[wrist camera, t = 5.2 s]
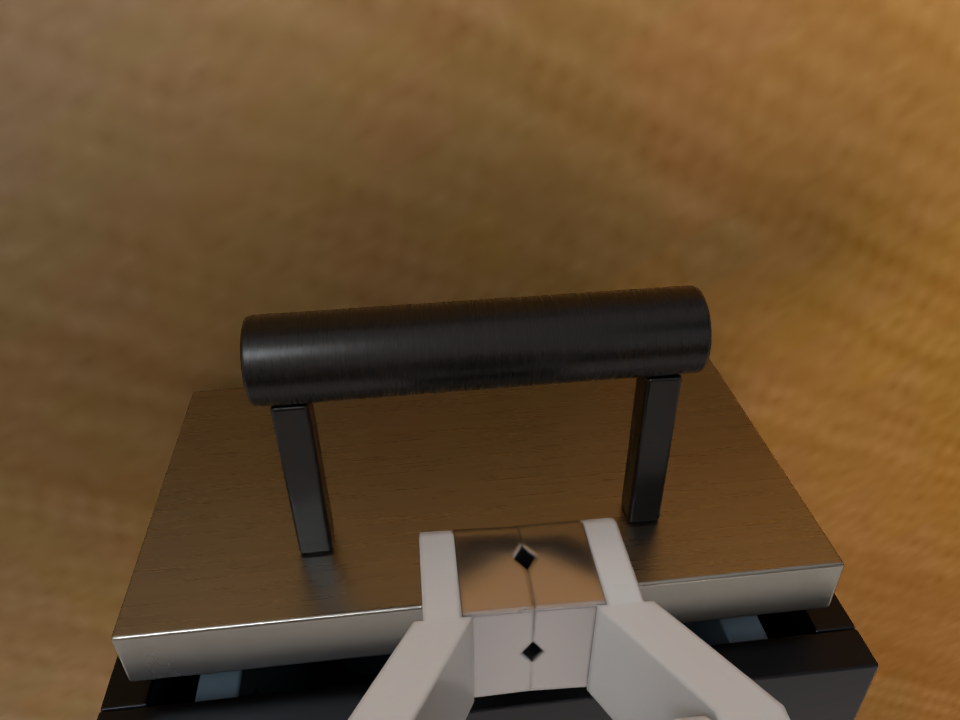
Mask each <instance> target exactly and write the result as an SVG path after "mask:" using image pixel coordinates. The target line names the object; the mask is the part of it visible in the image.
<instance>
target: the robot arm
mask: <svg viewBox="0 0 960 720" xmlns="http://www.w3.org/2000/svg"><path fill="white" fill-rule="evenodd" d="M419 548H420V568H421V588H422V608H423V621H414V622H413V623H412V624H411V626H410V627H409V629H408V630H407V632H406V633H405V635H404V636H403V638H402V639H401V641H400V642H399V644H398V645H397V647H396V648H395V650H394V651H393V653H392V654H391V656H390V657H389V659H388V660H387V662H386V663H385V665H384V666H383V668H382V669H381V671H380V672H379V674H378V675H377V677H376V678H375V680H374V681H373V683H372V684H371V686H370V687H369V689H368V690H367V692H366V693H365V695H364V696H363V698H362V699H361V701H360V702H359V704H358V705H357V707H356V708H355V710H354V711H353V713H352V714H351V716H350V717H349V719H348V720H466V718H467V716H468V714H469V711H470V709H471V707H472V705H473V703H474V698H475V697H483V696H491V695H499V694H507V693H515V692H523V691H532V690H547V689H562V688H576V687H587V691H588V692H589V693H590V694H591V695H592V696H593V697H594V699H595V700H596V701H597V702H598V703H599V704H600V706H601V707H602V708H603V709H604V710H605V711H606V713H607V714H608V715H609V716H610V717H611V718H612V719H613V720H790V718H789V716H788V714H787V711H786V709H785V707H784V706H783V705H782V704H781V703H780V702H779V701H777V700H776V699H775V698H774V697H772V696H771V695H770V694H769V693H767V692H766V691H765V690H764V689H762V688H761V687H760V686H759V685H758V684H756V683H755V682H754V681H753V680H751V679H750V678H749V677H748V676H746V675H745V674H744V673H743V672H742V671H740V670H739V669H738V668H737V667H735V666H734V665H733V664H732V663H730V662H729V661H728V660H727V659H725V658H724V657H723V656H722V655H721V654H719V653H718V652H717V651H716V650H714V649H713V648H712V647H711V646H709V645H708V644H707V643H706V642H704V641H703V640H702V639H701V638H700V637H698V636H697V635H696V634H695V633H693V632H692V631H691V630H690V629H688V628H687V627H686V626H685V625H684V624H682V623H681V622H680V621H679V620H677V619H676V618H675V617H674V616H672V615H671V614H670V613H669V612H667V611H666V610H665V609H664V608H663V607H661V606H660V605H659V604H658V603H656V602H655V601H644V598H643V595H642V593H641V590H640V587H639V584H638V581H637V579H636V576H635V573H634V570H633V567H632V564H631V562H630V559H629V556H628V553H627V550H626V548H625V545H624V542H623V539H622V536H621V534H620V531H619V528H618V525H617V522H616V521H615V520H614V519H613V518H612V517H611V518H600V519H588V520H580V521H578V520H575V521H564V522H552V523H541V524H530V525H518V526H512V527H493V528H474V529H454V530H453V531H452V530H448V531H428V532H420V536H419Z"/></svg>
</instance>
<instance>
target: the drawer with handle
mask: <svg viewBox="0 0 960 720" xmlns="http://www.w3.org/2000/svg"><path fill="white" fill-rule="evenodd" d="M711 336H712V335H711V321H710V315H709V310H708V306H707V303H706V300H705V298H704V296H703V294H702V293H701V291H700V290H699V289H698V288H696V287H694V286H690V285H689V286H674V287H660V288H645V289H630V290H615V291H600V292H585V293H571V294H556V295H541V296H526V297H511V298H496V299H482V300H467V301H452V302H437V303H422V304H408V305H393V306H378V307H363V308H348V309H333V310H319V311H304V312H289V313H274V314H259V315H249V316H247V317H246V318H245V319H244V321H243V324H242V329H241V336H240V361H241V371H242V378H243V383H244V388H240V389H227V390H213V391H200V392H194V393H193V395H192V398H191V401H190V404H189V407H188V410H187V413H186V416H185V419H184V422H183V425H182V428H181V431H180V434H179V437H178V440H177V443H176V446H175V449H174V452H173V455H172V458H171V461H170V464H169V467H168V470H167V473H166V476H165V479H164V482H163V485H162V488H161V491H160V494H159V497H158V500H157V503H156V506H155V509H154V512H153V515H152V518H151V521H150V523H149V526H148V529H147V532H146V535H145V538H144V541H143V544H142V547H141V550H140V553H139V556H138V559H137V562H136V565H135V568H134V571H133V574H132V577H131V580H130V583H129V586H128V589H127V592H126V595H125V598H124V601H123V604H122V607H121V610H120V613H119V616H118V619H117V622H116V625H115V628H114V631H113V634H112V638H111V640H112V643H113V645H114V647H115V649H116V652H117V654H118V656H119V658H120V661H121V663H122V665H123V667H124V670H125V672H126V674H127V676H128V678H129V680H130V681H132V682H136V681H145V680H154V679H164V678H173V677H182V676H192V675H200V679H199V683H198V688H197V693H196V698H195V702H196V701H205V700H214V699H223V698H232V697H241V696H250V695H260V694H269V693H278V692H287V691H296V690H305V689H314V688H323V687H332V686H342V685H351V684H360V683H369V682H373V681H374V680H375V678H376V677H377V675H378V674H379V672H380V671H381V669H382V668H383V666H384V665H385V663H386V662H387V660H388V659H389V657H390V656H391V654H392V653H393V651H394V650H395V648H396V647H397V645H398V644H399V642H400V641H401V639H402V638H403V636H404V635H405V633H406V632H407V630H408V629H409V627H410V626H411V624H412V623H413V622H414V621H423V608H422V588H421V568H420V548H419V536H420V532H428V531H448V530H452V531H453V530H454V529H474V528H493V527H512V526H518V525H530V524H541V523H552V522H564V521H575V520H578V521H580V520H588V519H600V518H611V517H612V518H613V519H614V520H615V521H616V522H617V525H618V528H619V531H620V534H621V536H622V539H623V542H624V545H625V548H626V550H627V553H628V556H629V559H630V562H631V564H632V567H633V570H634V573H635V576H636V579H637V581H638V584H639V587H640V590H641V593H642V595H643V598H644V601H655V602H656V603H658V604H659V605H660V606H661V607H663V608H664V609H665V610H666V611H667V612H669V613H670V614H671V615H672V616H674V617H675V618H676V619H677V620H679V621H680V622H681V623H682V624H684V625H685V626H686V627H687V628H688V629H690V630H691V631H692V632H693V633H695V634H696V635H697V636H698V637H700V638H701V639H702V640H703V641H704V642H706V643H707V644H708V645H715V644H724V643H733V642H742V641H752V640H761V639H768V637H767V635H766V633H765V631H764V629H763V627H762V625H761V623H760V621H759V619H758V617H757V615H763V614H772V613H781V612H791V611H800V610H810V609H819V608H826V607H828V606H829V605H830V602H831V600H832V597H833V594H834V591H835V589H836V586H837V583H838V581H839V578H840V575H841V572H842V570H843V567H844V564H843V561H842V560H841V558H840V557H839V555H838V554H837V552H836V551H835V549H834V548H833V546H832V544H831V543H830V541H829V540H828V538H827V537H826V535H825V534H824V532H823V531H822V529H821V528H820V526H819V525H818V523H817V522H816V520H815V519H814V517H813V516H812V514H811V512H810V511H809V509H808V508H807V506H806V505H805V503H804V502H803V500H802V499H801V497H800V496H799V494H798V493H797V491H796V490H795V488H794V487H793V485H792V483H791V482H790V480H789V479H788V477H787V476H786V474H785V473H784V471H783V470H782V468H781V467H780V465H779V464H778V462H777V461H776V459H775V458H774V456H773V455H772V453H771V451H770V450H769V448H768V447H767V445H766V444H765V442H764V441H763V439H762V438H761V436H760V435H759V433H758V432H757V430H756V429H755V427H754V426H753V424H752V423H751V421H750V419H749V418H748V416H747V415H746V413H745V412H744V410H743V409H742V407H741V406H740V404H739V403H738V401H737V400H736V398H735V397H734V395H733V394H732V392H731V390H730V389H729V387H728V386H727V384H726V383H725V381H724V380H723V378H722V377H721V375H720V374H719V372H718V371H717V369H716V368H715V366H714V365H713V363H712V362H711V360H710V358H709V355H710V349H711Z"/></svg>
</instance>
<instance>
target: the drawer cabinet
mask: <svg viewBox="0 0 960 720" xmlns="http://www.w3.org/2000/svg"><path fill="white" fill-rule="evenodd" d="M757 617H758V619H759V621H760V623H761V625H762V627H763V629H764V631H765V633H766V635H767V637H768V639H761V640H752V641H742V642H733V643H724V644H715V645H709V646H711V647H712V648H713V649H714V650H716V651H717V652H718V653H719V654H721V655H722V656H723V657H724V658H725V659H727V660H728V661H729V662H730V663H732V664H733V665H734V666H735V667H737V668H738V669H739V670H740V671H742V672H743V673H744V674H745V675H746V676H748V677H749V678H750V679H751V680H753V681H754V682H755V683H756V684H758V685H759V686H760V687H761V688H762V689H764V690H765V691H766V692H767V693H769V694H770V695H771V696H772V697H774V698H775V699H776V700H777V701H779V702H780V703H781V704H782V705H783V706H784V707H785V709H786V711H787V714H788V716H789V718H790V720H854V719H855V717H856V715H857V712H858V710H859V708H860V706H861V704H862V701H863V699H864V697H865V695H866V693H867V690H868V688H869V686H870V684H871V682H872V679H873V677H874V675H875V673H876V671H877V668H878V663H877V662H876V660H875V658H874V657H873V655H872V654H871V652H870V650H869V649H868V647H867V645H866V644H865V642H864V641H863V639H862V637H861V636H860V634H859V632H858V631H857V630H856V629H855V627H854V625H853V623H852V621H851V620H850V618H849V616H848V615H847V613H846V612H845V610H844V608H843V607H842V605H841V603H840V602H839V600H838V599H837V597H836V595H835V594H833V597H832V600H831V602H830V605H829V606H828V607H826V608H819V609H810V610H800V611H791V612H781V613H772V614H763V615H757ZM199 679H200V675H192V676H182V677H173V678H164V679H154V680H145V681H136V682H132V681H130V680H129V678H128V676H127V674H126V672H125V670H124V667H123V665H122V663H121V661H120V658H119V656H118V657H117V660H116V663H115V666H114V669H113V672H112V675H111V678H110V682H109V685H108V688H107V691H106V694H105V697H104V700H103V704H102V707H101V712H100V713H99V716H98V719H97V720H348V719H349V717H350V716H351V714H352V713H353V711H354V710H355V708H356V707H357V705H358V704H359V702H360V701H361V699H362V698H363V696H364V695H365V693H366V692H367V690H368V689H369V687H370V686H371V684H372V683H373V682H369V683H360V684H351V685H342V686H332V687H323V688H314V689H305V690H296V691H287V692H278V693H269V694H260V695H250V696H241V697H232V698H223V699H214V700H205V701H196V702H195V698H196V693H197V688H198V683H199ZM466 720H613V719H612V718H611V717H610V716H609V715H608V714H607V713H606V711H605V710H604V709H603V708H602V707H601V706H600V704H599V703H598V702H597V701H596V700H595V699H594V697H593V696H592V695H591V694H590V693H589V692H588V691H587V687H576V688H562V689H547V690H532V691H523V692H515V693H507V694H499V695H491V696H483V697H475V698H474V703H473V705H472V707H471V709H470V711H469V714H468V716H467V718H466Z"/></svg>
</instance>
